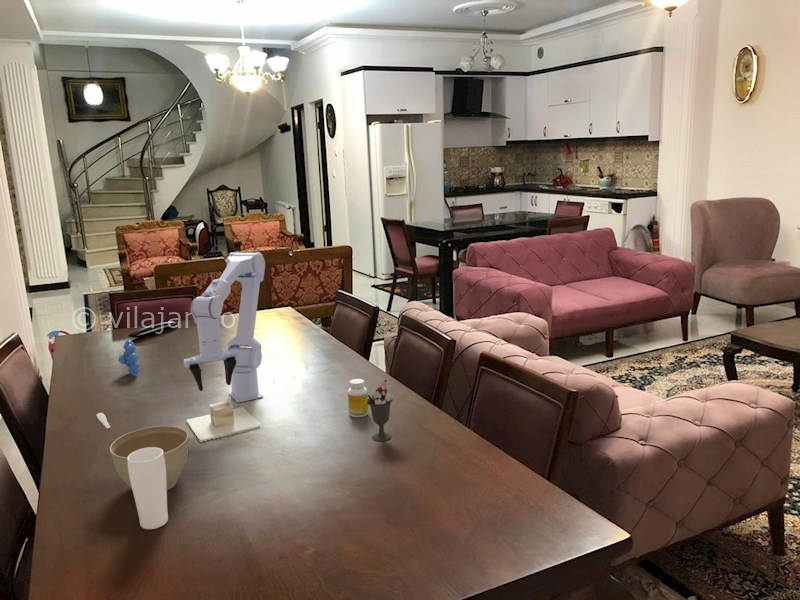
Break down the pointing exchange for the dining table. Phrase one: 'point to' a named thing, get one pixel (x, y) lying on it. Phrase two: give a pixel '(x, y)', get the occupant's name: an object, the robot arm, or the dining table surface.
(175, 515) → the dining table surface
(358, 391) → the supplement bottle
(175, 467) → the planter bowl
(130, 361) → the grapes
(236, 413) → the pad
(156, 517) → the drinking glass
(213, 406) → the cube
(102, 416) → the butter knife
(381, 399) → the sundae
